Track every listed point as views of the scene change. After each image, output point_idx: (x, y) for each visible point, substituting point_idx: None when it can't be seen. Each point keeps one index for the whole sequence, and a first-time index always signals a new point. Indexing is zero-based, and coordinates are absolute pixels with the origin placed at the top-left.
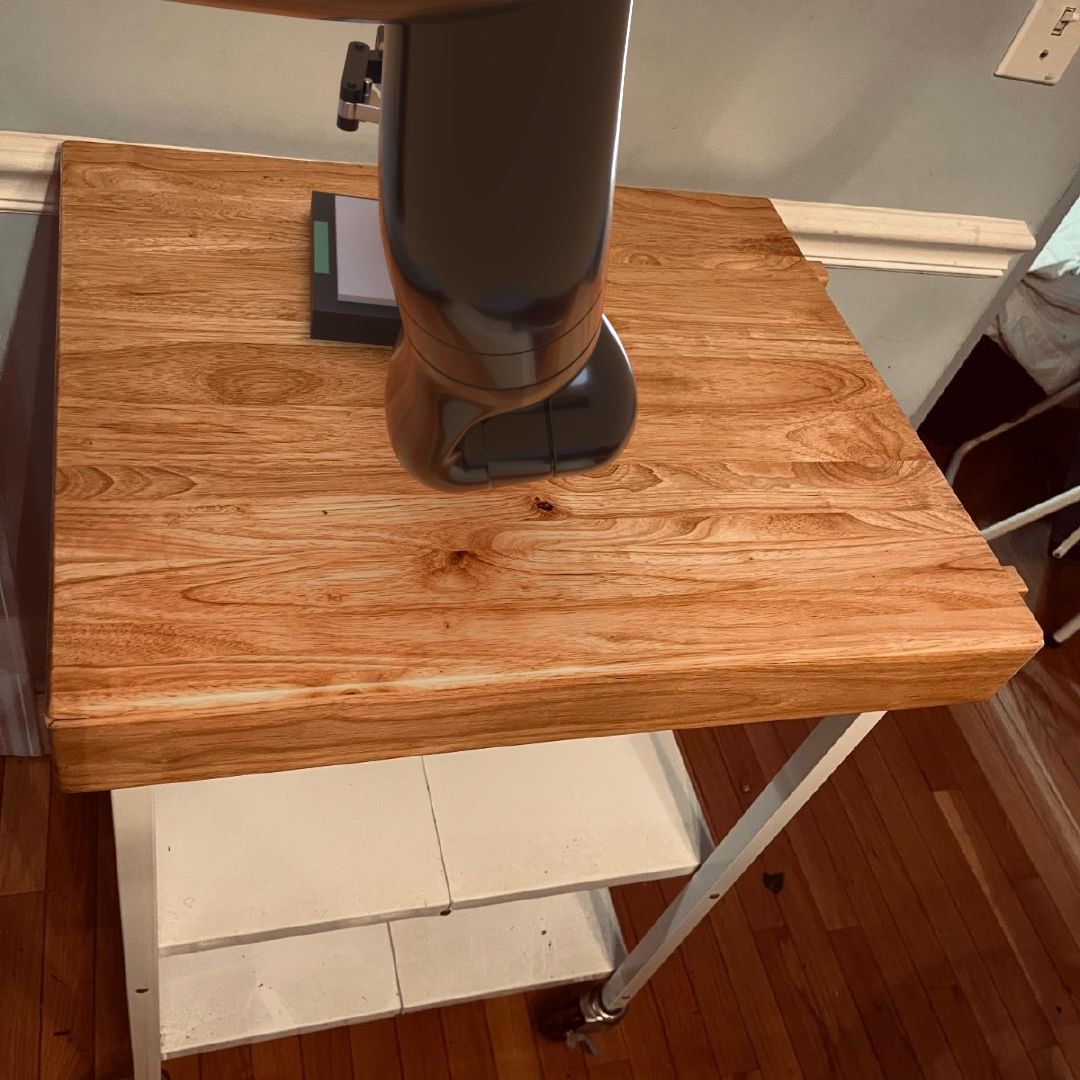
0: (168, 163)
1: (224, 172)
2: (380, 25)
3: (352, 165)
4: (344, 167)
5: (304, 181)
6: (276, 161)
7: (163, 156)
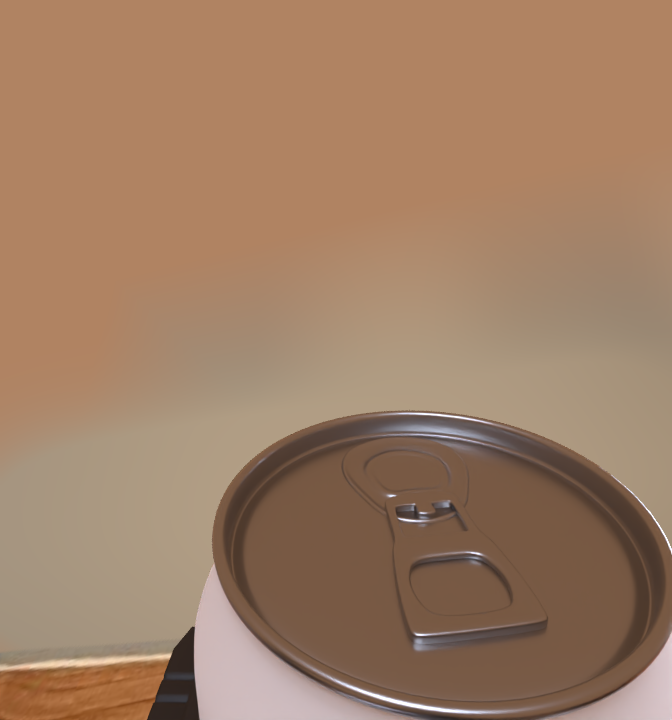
0: (42, 703)
1: (116, 708)
2: (191, 630)
3: None
4: None
5: None
6: None
7: (44, 687)
